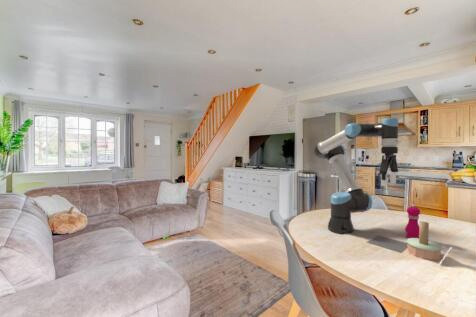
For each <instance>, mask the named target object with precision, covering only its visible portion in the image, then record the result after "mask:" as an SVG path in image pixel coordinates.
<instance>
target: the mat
mask: <svg viewBox="0 0 476 317" xmlns="http://www.w3.org/2000/svg"><path fill="white" fill-rule="evenodd" d="M366 244H370V245H373V246H377V247H380V248H384V249H386V250H390V251H394V252H396V253H398V254H400V253H401V254H402V253H403V252H404V251H405V250H406V249H407V242H404V241H401V240H398V239H393V238H390V237H387V236H383V235H378V234H377V235H376V236H374V237H372V238H371V239H370V240H367V241H366Z"/></svg>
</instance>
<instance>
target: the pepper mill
mask: <svg viewBox="0 0 476 317" xmlns="http://www.w3.org/2000/svg"><path fill="white" fill-rule="evenodd" d="M406 213H407V218H408V222H407V224H406V226H405V229H404V232H405V233H406V234H405V237H406V239H409V238H419V225H420V224H419V222H418V221H419V219H420V215H421V210H420V208H418V207H416V204H414V203H413V204H411V206H409V207H407V209H406Z"/></svg>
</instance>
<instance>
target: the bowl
mask: <svg viewBox="0 0 476 317" xmlns="http://www.w3.org/2000/svg"><path fill="white" fill-rule="evenodd" d="M406 243H407V242H406ZM406 249H407V252H408V254H410V255H412V256H413V257H416V258H418V259H419V258H420V259H423V260H427V261H438V260H440V259H441V257H442V256H441V255H442V254H441V253H442V250H440V251H427V250H422V249H419V248H415V247H413V246H411V245H409V244H408V243H407V248H406Z"/></svg>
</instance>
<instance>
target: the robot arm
mask: <svg viewBox="0 0 476 317" xmlns="http://www.w3.org/2000/svg"><path fill="white" fill-rule="evenodd" d="M358 137H360V138H361V137H366V138H373V137H375V138H376V137H381V141H380V142H381V143H380V145H381V146H382V147H381V149H380V151H381V154H383V155H382V156H381V163H380V167H379V172H378V173H379V174H380V187H388V169H390V175H389V178H390V180H389V184H395V185H396V184H397V173H399V168H398V163H397V154H398V153H399V151H398V150H399V147H398V146H399V142H400V140H399V119H398V118H397V117H387V118H386V117H385V118H382V120H381V122H380V123H357V122H352V123H348V124H347V125H346V126H345V127H344V130H341V131H339V132H337V133H336V134H334V135H333V136H331V137H329V138H327V139H326V140H324V141H323V140H322V141H319V142H317V143H316V144H315V145H314V146H313V150H312V151H313V154H314V156H315V157H317V158H319V159H322V160H325V159H327V161H328V163H329V164H331V165H332V166H333V169H334V171H335V173H336V175H337V177H338V179H339V181H340V183H341V186H342V187H343V190H344V191H343V192H340V191H339V192H334V193H332V194H331V197H330V218H329V221H328V223H327V229H328V230H329V231H331V232H332V233H335V234H339V235H346V234H352V233H354V231H355V228H354V225H353V224H354V223H353V222H352V214H354V213H356V214H357V213H364V212H368V211H369V210H371V208H372V207H373V198H372V196H371V195H370V194H368V193H367V192H364V190H363V188H362V187H359V185H358V184H357V182H356V180H355V178H354V176H353V175H352V172H351V171H350V168H349V166H348V165H347V162H346V161H345V154H346V149H345V147H344V144H346V143H348V142H350V141H352V140H355V139H356V138H358Z"/></svg>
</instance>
